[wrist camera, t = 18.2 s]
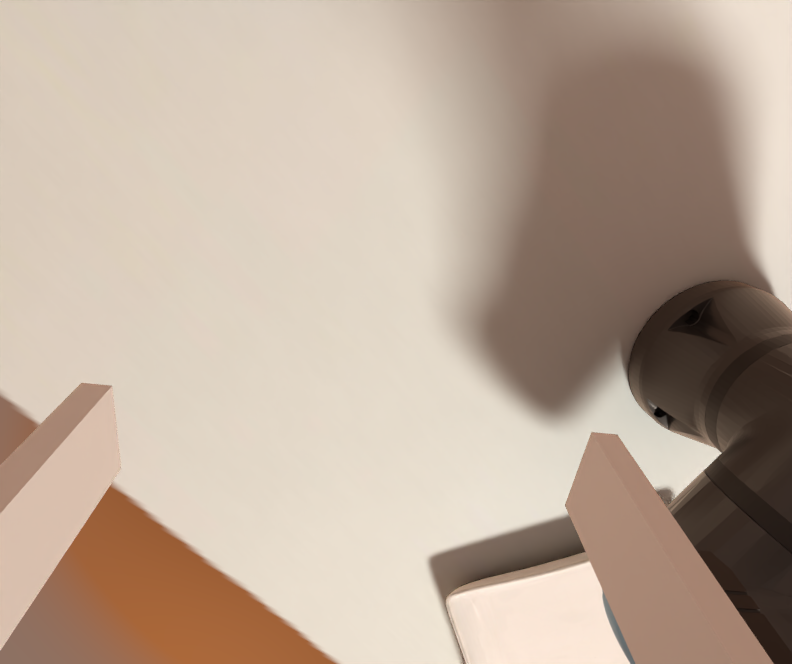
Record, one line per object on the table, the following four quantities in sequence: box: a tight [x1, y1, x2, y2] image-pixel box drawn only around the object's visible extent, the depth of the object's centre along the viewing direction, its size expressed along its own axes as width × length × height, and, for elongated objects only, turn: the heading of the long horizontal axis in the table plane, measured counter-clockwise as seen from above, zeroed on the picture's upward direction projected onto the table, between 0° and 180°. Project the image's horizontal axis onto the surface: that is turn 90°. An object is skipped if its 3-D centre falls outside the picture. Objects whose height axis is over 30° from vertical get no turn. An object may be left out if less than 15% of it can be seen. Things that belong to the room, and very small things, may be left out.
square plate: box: [445, 552, 630, 664], centre depth 60 cm, size 27×27×4 cm
